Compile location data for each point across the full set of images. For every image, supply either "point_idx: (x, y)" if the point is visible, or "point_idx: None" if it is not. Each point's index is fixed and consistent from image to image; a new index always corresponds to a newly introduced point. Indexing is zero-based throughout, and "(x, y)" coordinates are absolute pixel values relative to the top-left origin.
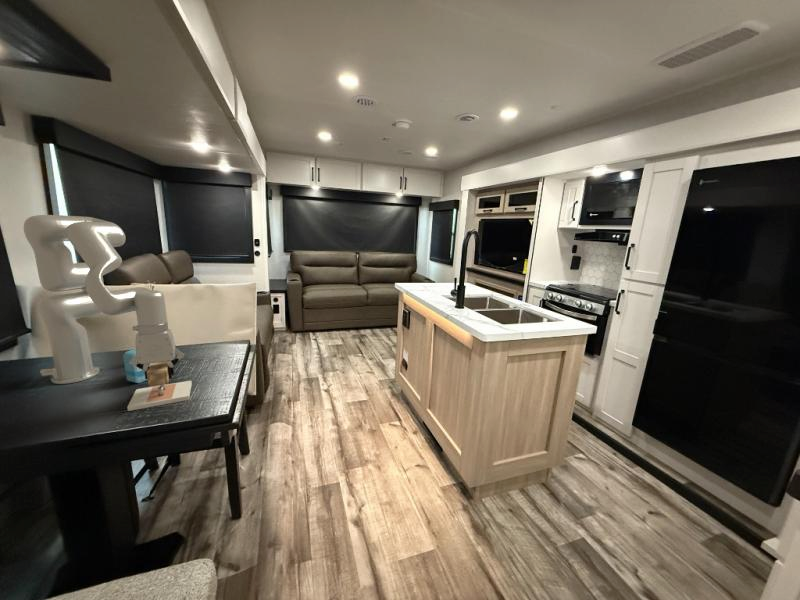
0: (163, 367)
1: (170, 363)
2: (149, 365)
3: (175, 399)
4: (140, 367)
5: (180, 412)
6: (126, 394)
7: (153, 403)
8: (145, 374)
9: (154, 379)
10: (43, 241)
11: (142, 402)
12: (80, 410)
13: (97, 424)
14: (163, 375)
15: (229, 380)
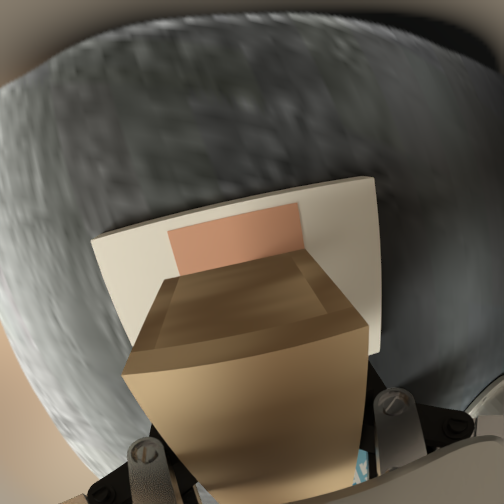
0: (202, 439)
1: (143, 478)
2: (360, 470)
3: (149, 222)
4: (435, 416)
5: (98, 110)
6: (402, 332)
7: (257, 198)
8: (371, 373)
9: (264, 286)
10: None
11: (318, 209)
12: (489, 235)
13: (423, 100)
14: (170, 322)
15: (38, 370)
